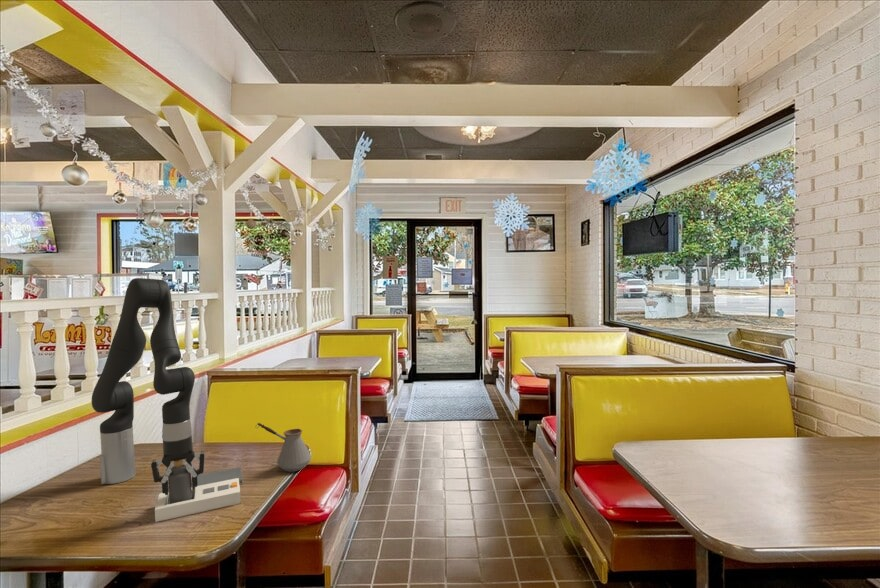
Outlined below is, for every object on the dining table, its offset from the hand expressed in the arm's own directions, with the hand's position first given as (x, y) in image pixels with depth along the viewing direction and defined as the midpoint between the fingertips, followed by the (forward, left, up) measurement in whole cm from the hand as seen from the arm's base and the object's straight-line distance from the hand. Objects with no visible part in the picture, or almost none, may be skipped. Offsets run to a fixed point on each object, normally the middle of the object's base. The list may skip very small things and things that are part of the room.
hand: (180, 491), depth 137 cm
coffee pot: (+31, +18, -5) cm, 36 cm away
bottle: (0, 0, -5) cm, 5 cm away
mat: (+10, +15, -5) cm, 19 cm away
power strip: (+5, 0, -5) cm, 7 cm away
